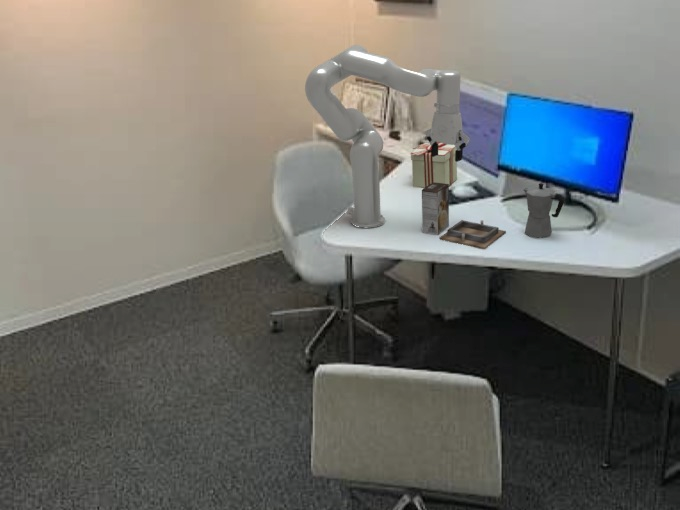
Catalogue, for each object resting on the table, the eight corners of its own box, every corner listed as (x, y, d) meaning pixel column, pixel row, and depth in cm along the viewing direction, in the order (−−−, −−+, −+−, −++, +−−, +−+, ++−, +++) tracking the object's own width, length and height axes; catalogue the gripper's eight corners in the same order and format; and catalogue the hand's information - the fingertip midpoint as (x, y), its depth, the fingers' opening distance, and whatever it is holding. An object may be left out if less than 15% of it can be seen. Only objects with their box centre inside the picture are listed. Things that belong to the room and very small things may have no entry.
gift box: (416, 175, 312) (415, 136, 304) (458, 178, 305) (458, 138, 298) (403, 188, 297) (402, 147, 290) (447, 191, 290) (447, 150, 283)
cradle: (439, 239, 247) (439, 230, 245) (461, 224, 258) (461, 215, 257) (484, 249, 237) (484, 240, 236) (505, 233, 249) (506, 224, 247)
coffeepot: (513, 232, 249) (516, 183, 241) (529, 224, 254) (531, 176, 247) (553, 244, 238) (557, 192, 231) (568, 235, 244) (572, 184, 237)
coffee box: (432, 223, 260) (432, 181, 253) (449, 226, 257) (449, 183, 250) (421, 232, 253) (421, 189, 246) (438, 235, 250) (438, 191, 243)
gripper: (420, 107, 243) (419, 156, 250) (463, 114, 232) (461, 165, 239) (432, 103, 248) (432, 151, 255) (476, 109, 237) (474, 160, 244)
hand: (446, 158), depth 247 cm, fingers open, 9 cm apart
